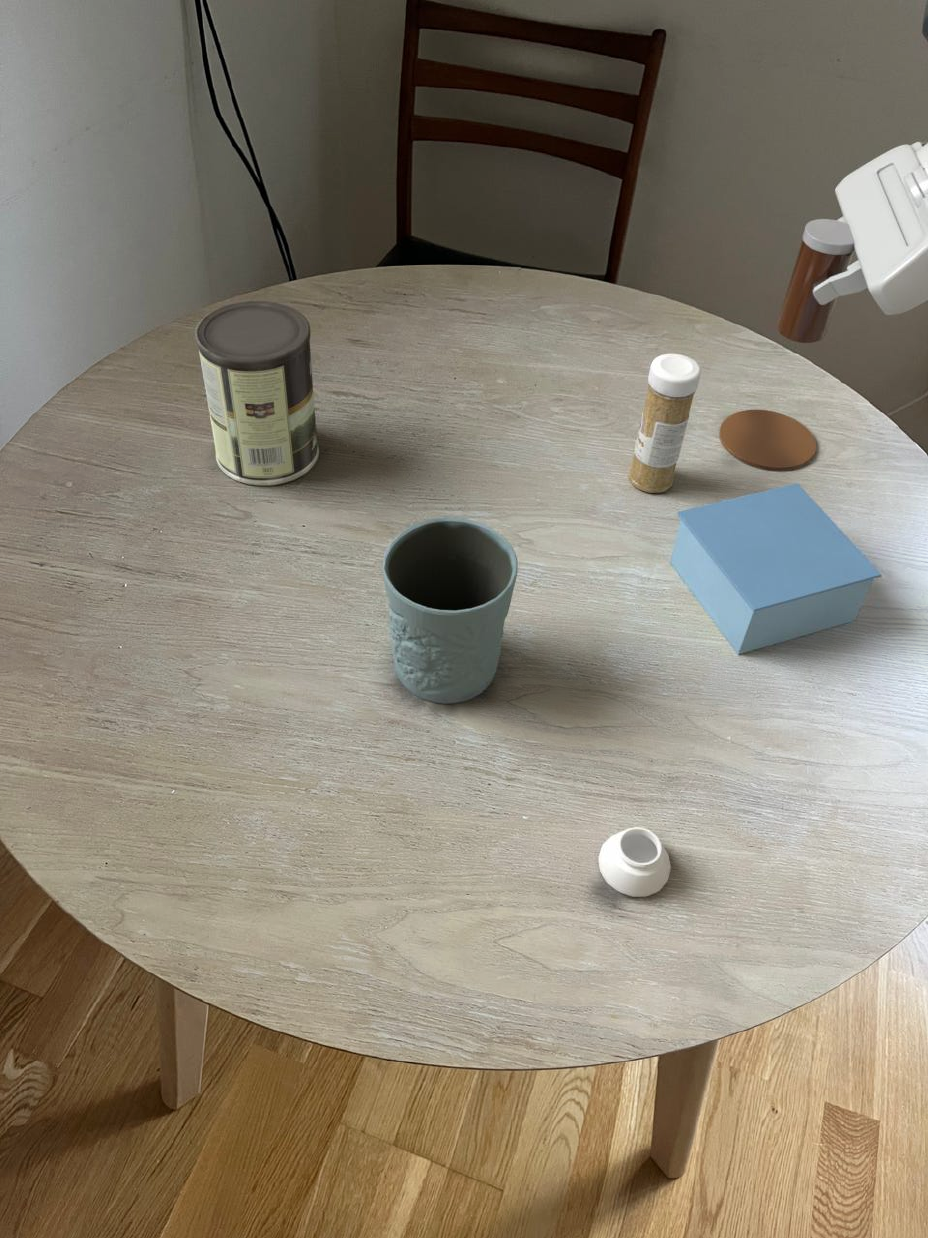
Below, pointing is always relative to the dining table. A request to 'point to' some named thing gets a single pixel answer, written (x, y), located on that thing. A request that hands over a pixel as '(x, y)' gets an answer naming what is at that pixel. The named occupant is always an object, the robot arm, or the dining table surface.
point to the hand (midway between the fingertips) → (810, 279)
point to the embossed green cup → (448, 606)
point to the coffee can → (259, 391)
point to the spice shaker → (814, 279)
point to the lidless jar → (634, 862)
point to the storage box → (770, 567)
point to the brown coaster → (767, 440)
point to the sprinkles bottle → (663, 421)
